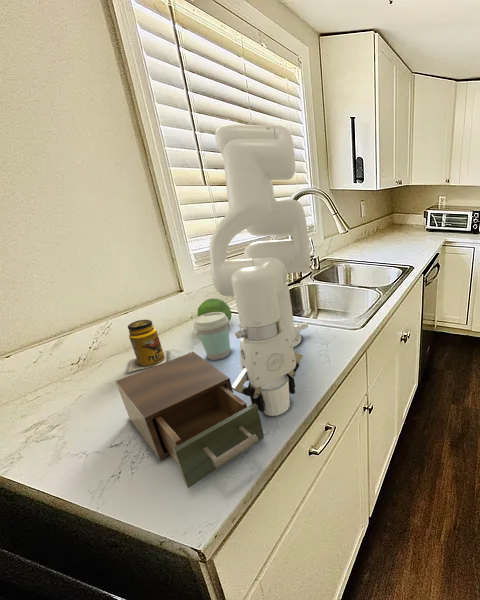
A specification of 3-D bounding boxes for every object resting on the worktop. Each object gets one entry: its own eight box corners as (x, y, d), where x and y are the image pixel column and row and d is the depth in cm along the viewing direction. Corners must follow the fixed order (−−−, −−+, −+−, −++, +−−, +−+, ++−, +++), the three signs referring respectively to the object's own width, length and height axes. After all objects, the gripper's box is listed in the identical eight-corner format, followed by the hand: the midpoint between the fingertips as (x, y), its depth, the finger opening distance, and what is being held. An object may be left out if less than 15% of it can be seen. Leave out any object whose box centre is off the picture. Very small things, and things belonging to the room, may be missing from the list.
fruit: (200, 320, 117) (193, 294, 113) (230, 314, 122) (225, 289, 118) (201, 337, 105) (194, 308, 101) (235, 329, 110) (229, 302, 106)
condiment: (166, 363, 91) (154, 324, 86) (128, 373, 86) (113, 332, 82) (166, 352, 96) (155, 315, 92) (130, 360, 92) (116, 322, 88)
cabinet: (238, 416, 71) (229, 377, 67) (160, 460, 60) (144, 418, 56) (202, 385, 81) (193, 351, 77) (130, 419, 70) (115, 381, 66)
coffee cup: (241, 349, 97) (234, 313, 93) (218, 364, 90) (208, 325, 85) (219, 345, 100) (211, 309, 95) (195, 359, 92) (184, 321, 88)
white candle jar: (262, 422, 69) (256, 394, 66) (258, 403, 74) (253, 377, 72) (295, 411, 72) (291, 385, 69) (289, 394, 77) (285, 369, 75)
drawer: (279, 451, 60) (273, 417, 57) (202, 506, 50) (189, 469, 47) (223, 404, 73) (216, 374, 70) (152, 441, 63) (140, 408, 60)
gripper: (228, 351, 57) (246, 430, 64) (308, 318, 70) (317, 387, 77) (209, 339, 62) (228, 414, 68) (288, 310, 74) (298, 376, 81)
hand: (275, 399), depth 72 cm, fingers closed on white candle jar, 6 cm apart
